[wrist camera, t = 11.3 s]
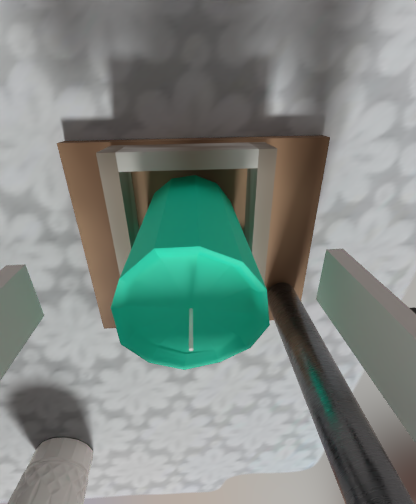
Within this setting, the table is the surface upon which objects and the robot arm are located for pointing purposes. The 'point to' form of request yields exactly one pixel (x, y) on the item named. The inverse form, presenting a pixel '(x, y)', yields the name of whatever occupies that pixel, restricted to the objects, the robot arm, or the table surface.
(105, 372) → the table surface
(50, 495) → the white cup
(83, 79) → the table surface
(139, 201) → the board
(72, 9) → the table surface
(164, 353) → the candle
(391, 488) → the bar
